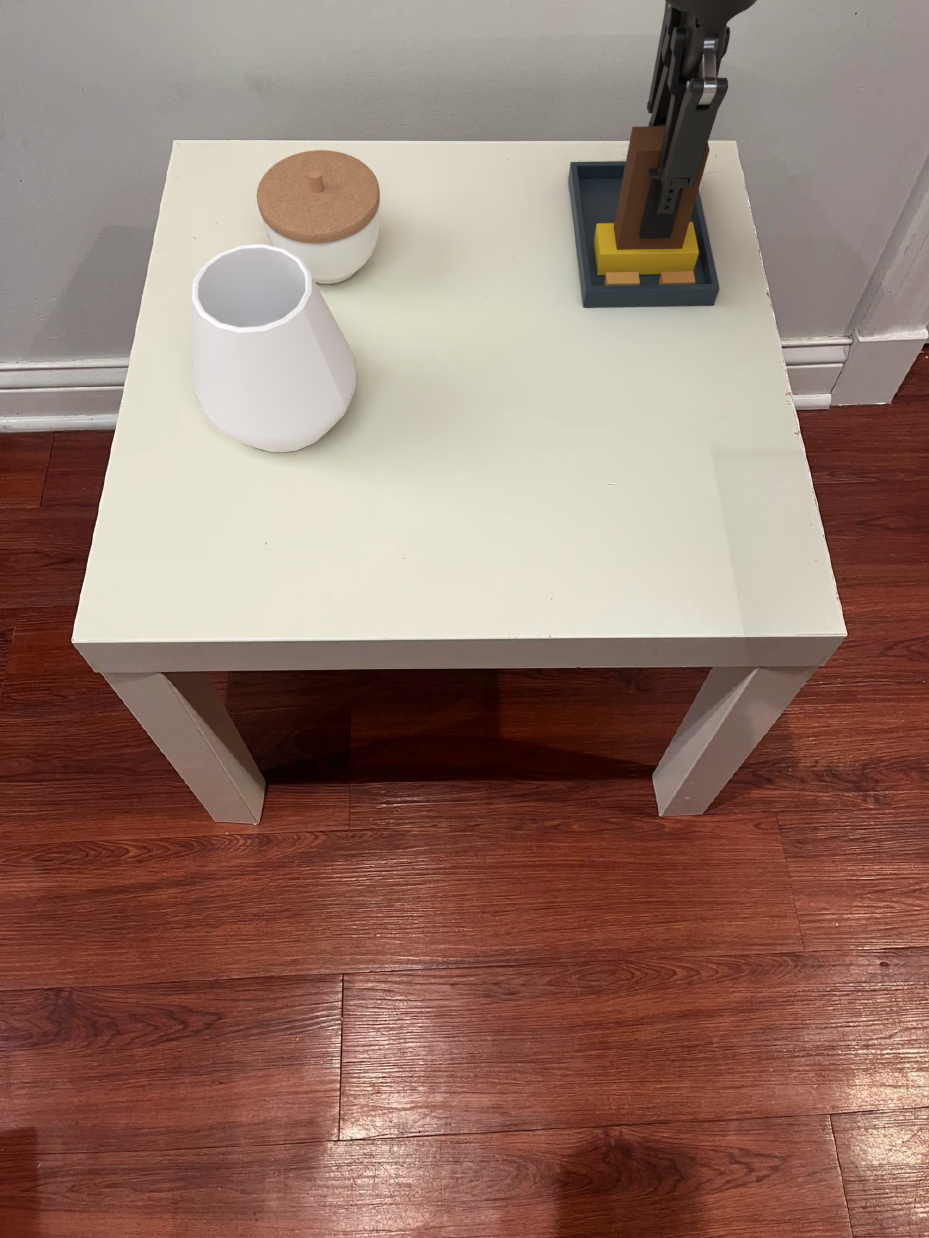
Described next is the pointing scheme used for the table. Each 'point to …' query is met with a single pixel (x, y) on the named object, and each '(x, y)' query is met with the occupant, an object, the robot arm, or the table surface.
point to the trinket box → (322, 211)
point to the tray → (598, 204)
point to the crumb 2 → (677, 278)
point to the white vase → (267, 350)
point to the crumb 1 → (621, 278)
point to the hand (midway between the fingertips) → (652, 220)
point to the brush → (621, 239)
